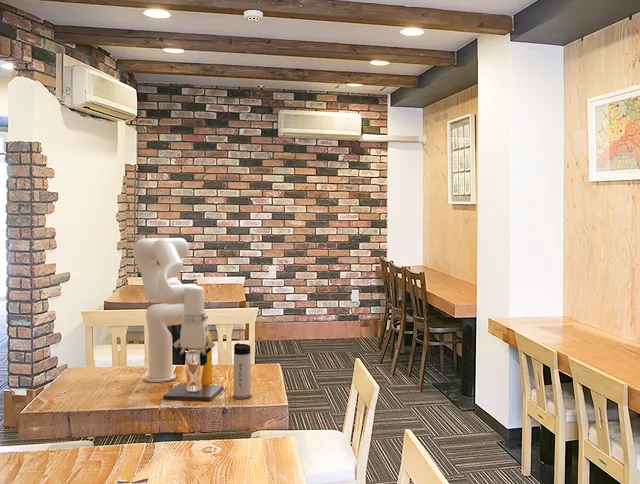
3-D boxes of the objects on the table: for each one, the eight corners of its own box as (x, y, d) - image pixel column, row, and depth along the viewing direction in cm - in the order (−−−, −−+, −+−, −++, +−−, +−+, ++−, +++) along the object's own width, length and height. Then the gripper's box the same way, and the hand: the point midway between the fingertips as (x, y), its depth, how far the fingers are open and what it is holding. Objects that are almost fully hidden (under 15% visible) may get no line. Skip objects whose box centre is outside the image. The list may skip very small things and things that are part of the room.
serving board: (179, 388, 254) (179, 384, 254) (223, 389, 253) (223, 385, 253) (163, 399, 238) (163, 395, 238) (210, 401, 237) (210, 397, 237)
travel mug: (242, 393, 248) (242, 342, 247) (253, 396, 244) (254, 344, 243) (229, 396, 243) (229, 344, 242) (241, 400, 239) (241, 346, 238)
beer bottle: (185, 382, 262) (185, 312, 262) (205, 379, 268) (205, 310, 268) (194, 387, 255) (194, 315, 254) (216, 383, 261) (216, 313, 260)
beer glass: (198, 393, 241) (198, 354, 241) (181, 392, 243) (181, 353, 242) (206, 388, 248) (206, 350, 248) (189, 387, 250) (190, 349, 249)
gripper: (219, 317, 248) (219, 362, 248) (175, 316, 249) (175, 361, 250) (213, 320, 240) (213, 367, 241) (168, 319, 242) (168, 366, 242)
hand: (194, 364), depth 245 cm, fingers closed on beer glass, 7 cm apart
